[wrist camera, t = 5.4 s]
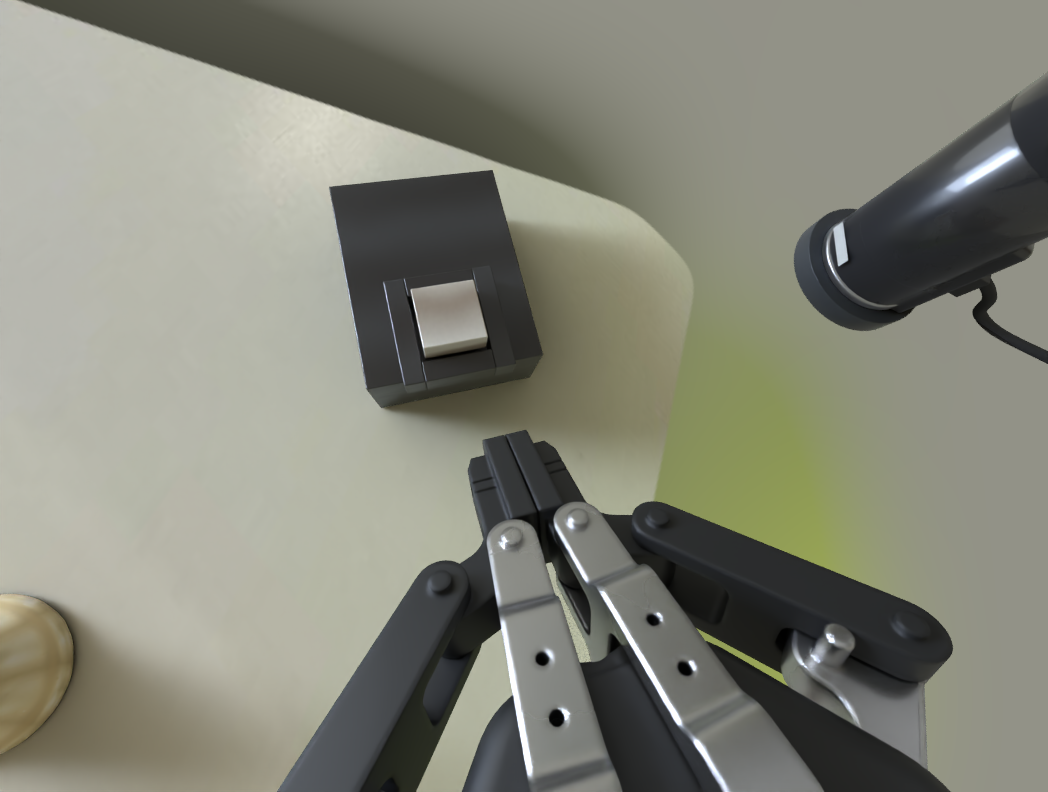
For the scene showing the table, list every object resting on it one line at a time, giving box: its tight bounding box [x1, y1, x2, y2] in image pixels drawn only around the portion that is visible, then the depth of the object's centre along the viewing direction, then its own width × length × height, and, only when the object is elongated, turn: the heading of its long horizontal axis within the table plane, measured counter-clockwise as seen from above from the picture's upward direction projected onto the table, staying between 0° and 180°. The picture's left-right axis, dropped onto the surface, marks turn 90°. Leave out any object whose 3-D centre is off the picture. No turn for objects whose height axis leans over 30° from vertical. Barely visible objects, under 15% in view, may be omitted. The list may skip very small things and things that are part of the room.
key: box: [411, 280, 488, 358], centre depth 25 cm, size 4×4×2 cm
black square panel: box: [329, 170, 543, 408], centre depth 29 cm, size 15×11×7 cm
